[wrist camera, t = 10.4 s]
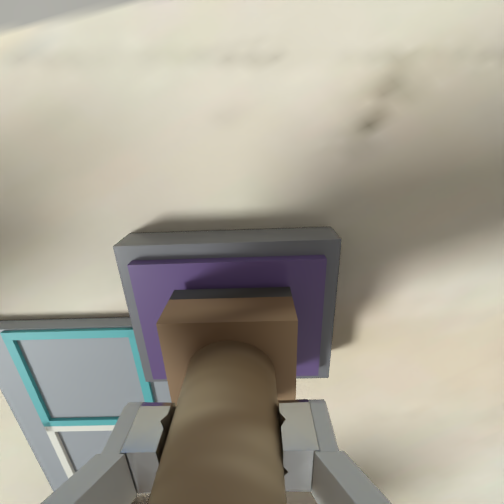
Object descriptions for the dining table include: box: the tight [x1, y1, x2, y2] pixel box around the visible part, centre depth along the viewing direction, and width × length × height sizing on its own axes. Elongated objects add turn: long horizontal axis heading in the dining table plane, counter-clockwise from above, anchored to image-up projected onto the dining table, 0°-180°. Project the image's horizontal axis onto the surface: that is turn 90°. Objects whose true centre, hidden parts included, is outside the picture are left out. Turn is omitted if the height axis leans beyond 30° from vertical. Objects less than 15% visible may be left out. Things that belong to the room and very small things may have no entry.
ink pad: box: [113, 227, 341, 382], centre depth 14 cm, size 10×8×2 cm
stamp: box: [147, 287, 298, 504], centre depth 9 cm, size 5×5×8 cm
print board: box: [0, 317, 172, 491], centre depth 18 cm, size 11×15×1 cm
